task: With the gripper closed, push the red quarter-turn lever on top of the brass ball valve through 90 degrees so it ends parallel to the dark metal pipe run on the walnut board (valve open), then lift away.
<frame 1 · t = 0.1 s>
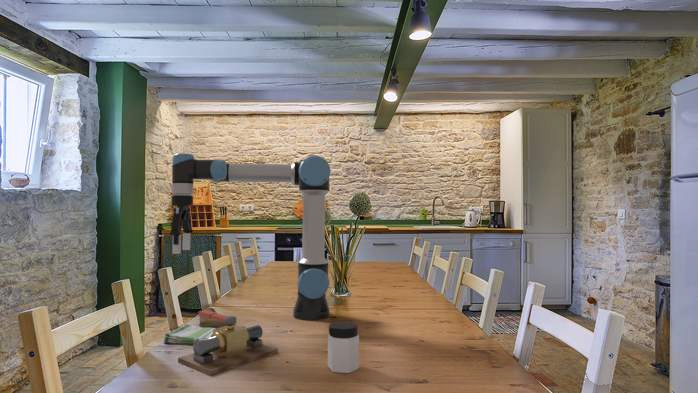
hand: (181, 251, 163), 28 cm above the table, fingers open, 13 cm apart
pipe: (216, 327, 165), on the table
valve body: (229, 338, 131), on the mount board, point 6 cm above the table
mount board: (229, 357, 131), on the table
dish towel: (206, 339, 151), on the table
jar: (343, 368, 123), on the table
lever: (217, 317, 135), point 11 cm above the table, hinge at -90.0°
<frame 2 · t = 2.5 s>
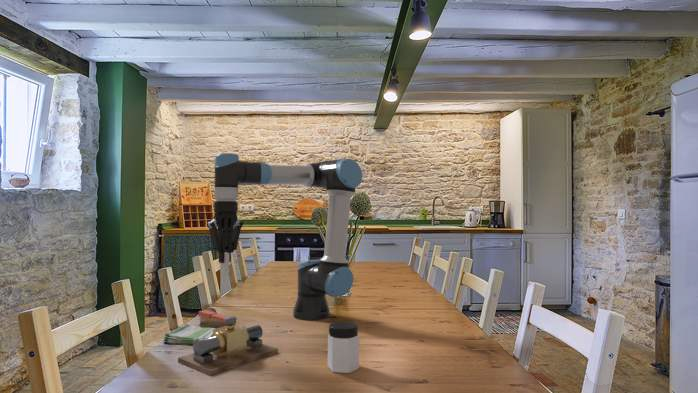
hand: (224, 272, 143), 23 cm above the table, fingers closed
nothing on the table moved.
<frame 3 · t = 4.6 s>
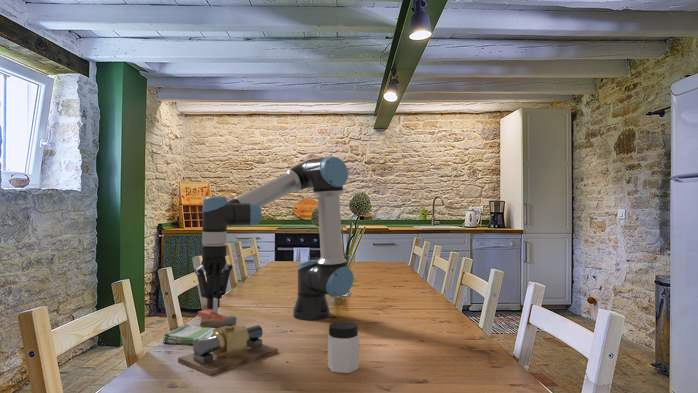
hand: (213, 318, 140), 9 cm above the table, fingers closed
lever: (217, 317, 135), point 11 cm above the table, hinge at -88.9°, touching gripper
everything else where it was.
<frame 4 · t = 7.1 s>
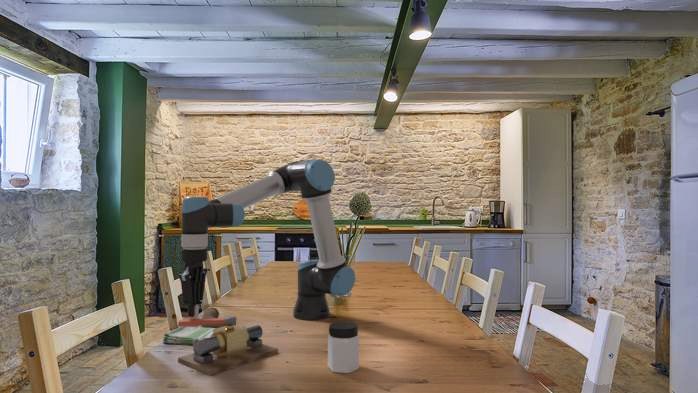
hand: (192, 326, 131), 9 cm above the table, fingers closed
lever: (207, 321, 130), point 11 cm above the table, hinge at -37.5°, touching gripper
everything else where it was.
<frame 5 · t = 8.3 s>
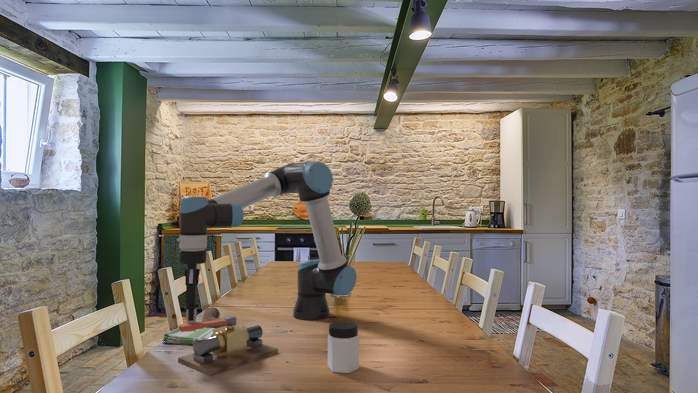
hand: (190, 330, 127), 9 cm above the table, fingers closed
lever: (209, 323, 128), point 11 cm above the table, hinge at -13.9°, touching gripper
everything else where it was.
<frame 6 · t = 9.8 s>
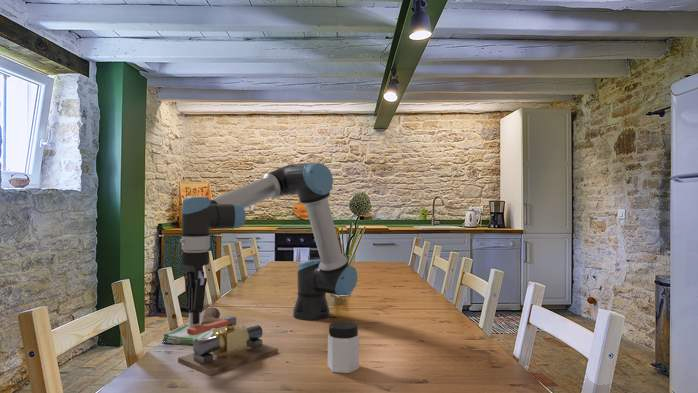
hand: (194, 334, 124), 9 cm above the table, fingers closed
lever: (213, 325, 126), point 11 cm above the table, hinge at 7.6°
everything else where it was.
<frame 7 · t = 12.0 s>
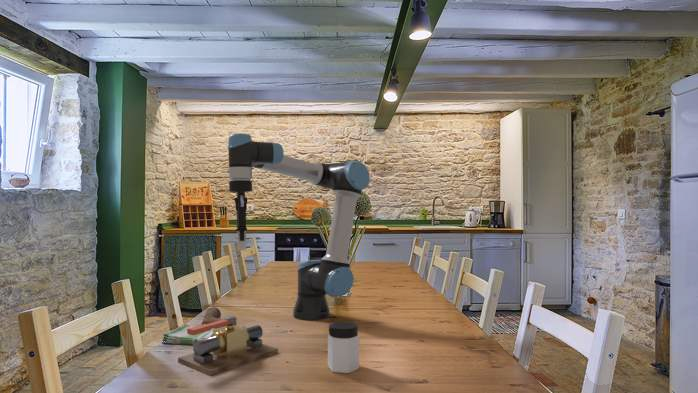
hand: (241, 250, 147), 30 cm above the table, fingers closed
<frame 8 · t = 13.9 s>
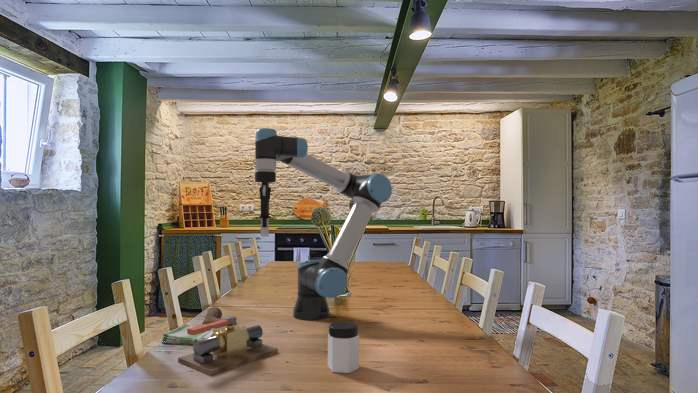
hand: (264, 236, 159), 34 cm above the table, fingers closed
at the end: lever at +8° (first picture: -90°) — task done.
